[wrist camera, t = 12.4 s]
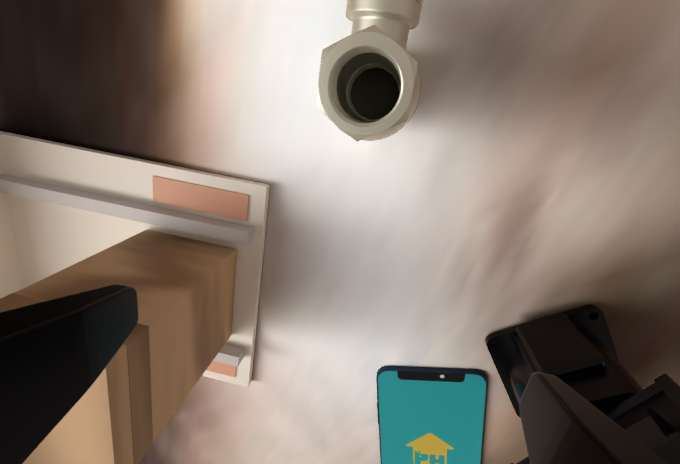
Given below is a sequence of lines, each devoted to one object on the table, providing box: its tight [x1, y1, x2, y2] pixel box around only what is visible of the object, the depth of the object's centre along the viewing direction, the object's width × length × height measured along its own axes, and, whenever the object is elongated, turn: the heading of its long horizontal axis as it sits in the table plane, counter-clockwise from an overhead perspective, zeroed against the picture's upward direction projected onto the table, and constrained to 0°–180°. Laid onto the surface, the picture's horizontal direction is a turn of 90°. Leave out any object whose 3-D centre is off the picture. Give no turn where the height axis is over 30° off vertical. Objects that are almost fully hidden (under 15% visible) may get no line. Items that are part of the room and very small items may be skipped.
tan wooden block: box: [0, 229, 237, 464], centre depth 18 cm, size 6×6×10 cm
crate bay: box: [0, 131, 270, 387], centre depth 21 cm, size 18×15×7 cm
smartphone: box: [377, 366, 487, 464], centre depth 25 cm, size 7×1×15 cm
